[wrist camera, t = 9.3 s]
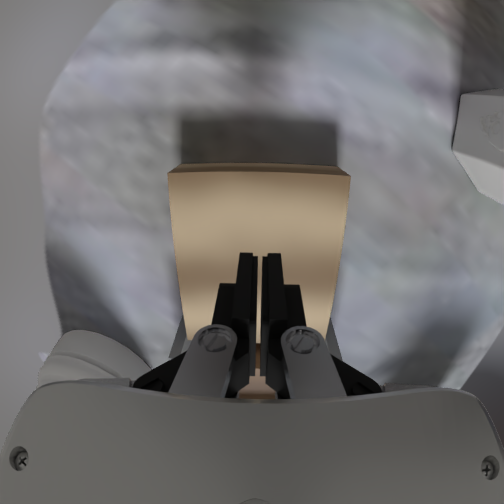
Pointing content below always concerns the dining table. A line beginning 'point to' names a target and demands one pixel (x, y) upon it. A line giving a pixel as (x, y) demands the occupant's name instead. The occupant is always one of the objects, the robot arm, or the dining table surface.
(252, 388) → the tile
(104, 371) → the honey pot
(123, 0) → the dining table surface
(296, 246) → the board
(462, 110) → the jar
